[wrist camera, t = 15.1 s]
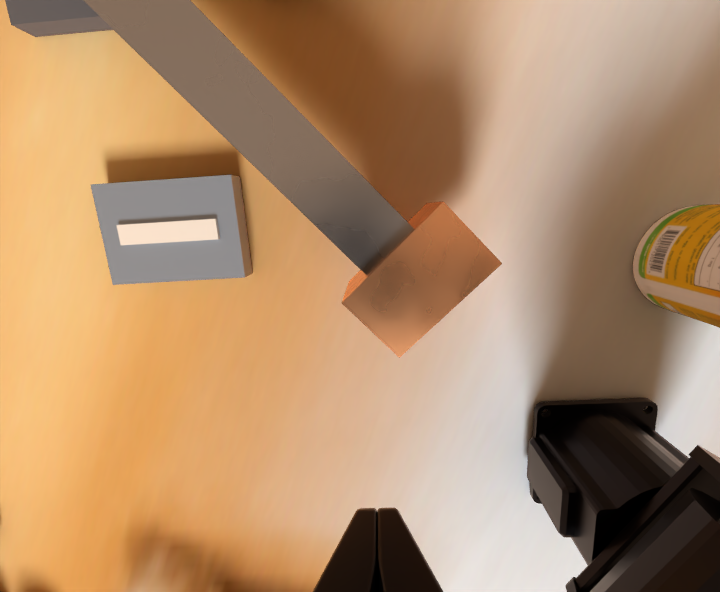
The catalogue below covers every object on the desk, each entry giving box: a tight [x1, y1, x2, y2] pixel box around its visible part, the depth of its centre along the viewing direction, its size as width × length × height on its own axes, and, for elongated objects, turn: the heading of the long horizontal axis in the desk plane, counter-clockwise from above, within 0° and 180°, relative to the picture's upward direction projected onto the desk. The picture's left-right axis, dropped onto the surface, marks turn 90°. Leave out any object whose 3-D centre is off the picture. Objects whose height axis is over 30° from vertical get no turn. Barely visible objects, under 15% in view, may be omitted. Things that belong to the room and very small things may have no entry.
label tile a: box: [91, 175, 253, 285], centre depth 19 cm, size 7×5×1 cm
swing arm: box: [84, 0, 502, 358], centre depth 14 cm, size 24×5×5 cm, turn 46°
